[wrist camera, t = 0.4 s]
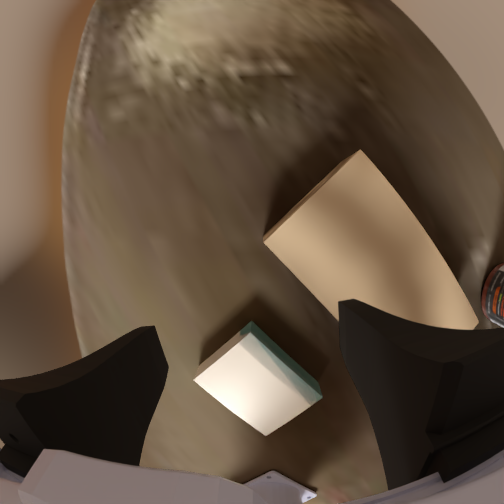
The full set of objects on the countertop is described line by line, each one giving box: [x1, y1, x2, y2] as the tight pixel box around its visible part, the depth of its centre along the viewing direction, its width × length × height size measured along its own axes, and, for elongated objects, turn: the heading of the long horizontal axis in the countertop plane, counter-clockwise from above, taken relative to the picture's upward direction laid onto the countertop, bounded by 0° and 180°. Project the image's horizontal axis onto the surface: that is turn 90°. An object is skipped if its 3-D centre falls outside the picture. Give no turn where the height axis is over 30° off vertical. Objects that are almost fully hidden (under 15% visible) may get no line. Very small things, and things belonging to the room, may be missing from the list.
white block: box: [193, 321, 323, 436], centre depth 21 cm, size 6×8×2 cm
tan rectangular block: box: [263, 149, 479, 330], centre depth 19 cm, size 8×16×4 cm, turn 44°
